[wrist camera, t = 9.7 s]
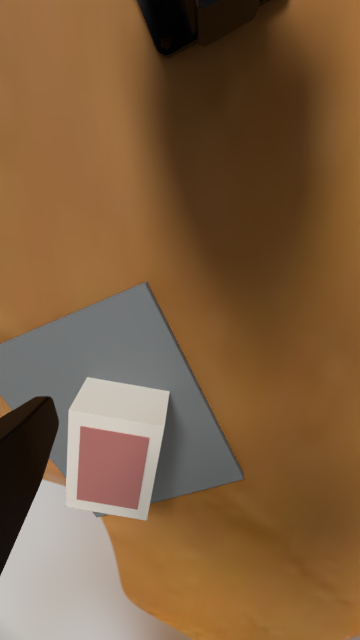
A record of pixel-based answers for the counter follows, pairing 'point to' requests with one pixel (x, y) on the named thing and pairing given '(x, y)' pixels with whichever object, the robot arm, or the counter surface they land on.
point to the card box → (114, 447)
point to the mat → (129, 368)
